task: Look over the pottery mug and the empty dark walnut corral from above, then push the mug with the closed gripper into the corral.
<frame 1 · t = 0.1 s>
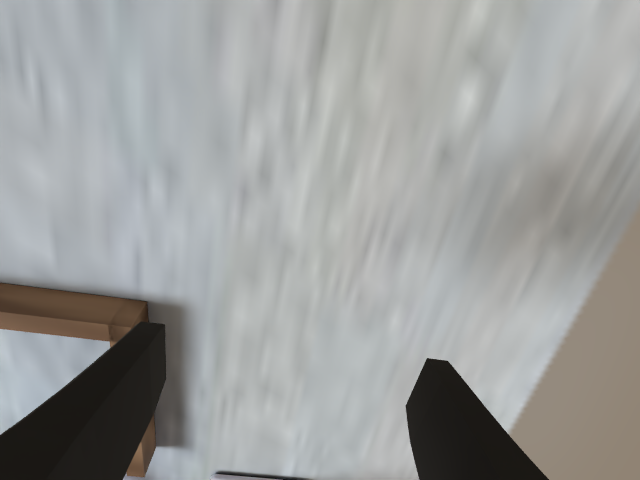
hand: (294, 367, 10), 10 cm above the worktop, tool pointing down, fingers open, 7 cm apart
corral: (17, 376, 24), on the worktop
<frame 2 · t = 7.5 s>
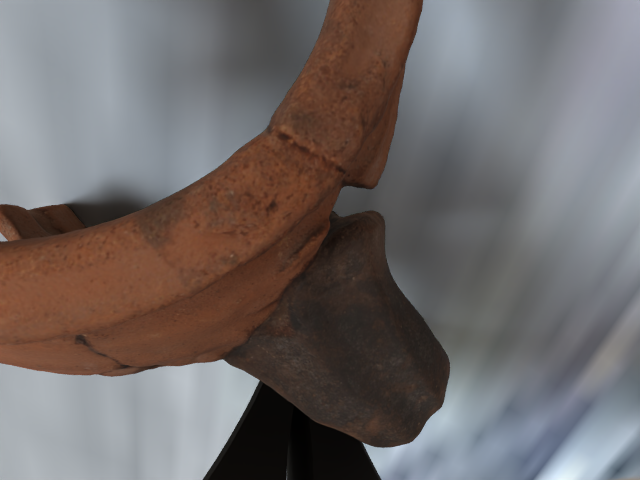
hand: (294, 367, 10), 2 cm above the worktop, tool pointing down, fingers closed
pottery mug: (223, 127, 9), on the worktop, touching gripper
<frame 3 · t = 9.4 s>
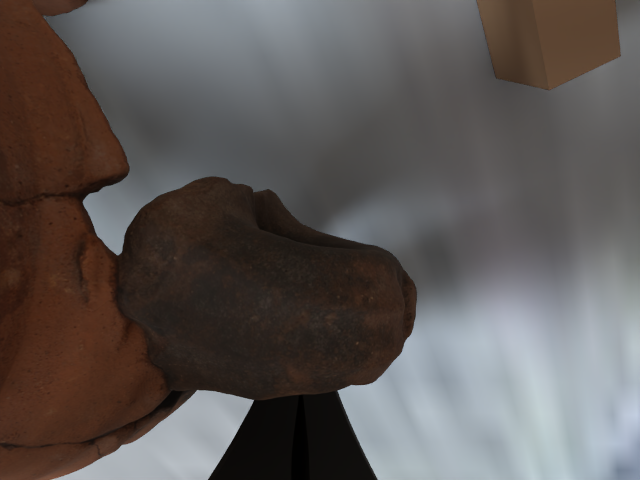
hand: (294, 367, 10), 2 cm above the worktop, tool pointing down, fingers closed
pottery mug: (153, 196, 10), on the worktop, touching gripper
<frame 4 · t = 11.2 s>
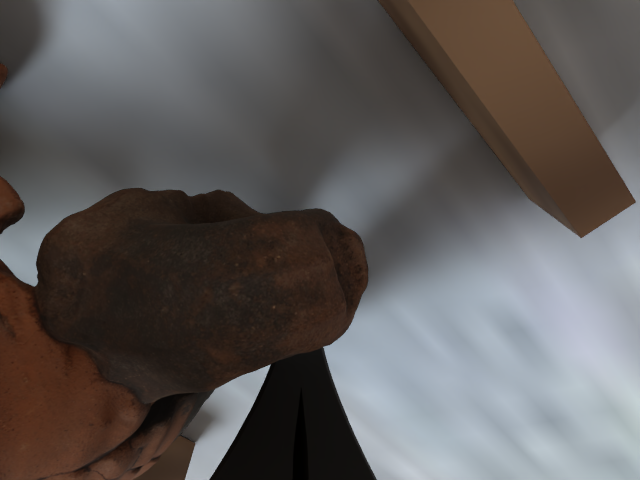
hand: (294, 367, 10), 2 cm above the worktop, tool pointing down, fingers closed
pottery mug: (137, 232, 10), on the worktop, touching gripper
corral: (165, 222, 10), on the worktop
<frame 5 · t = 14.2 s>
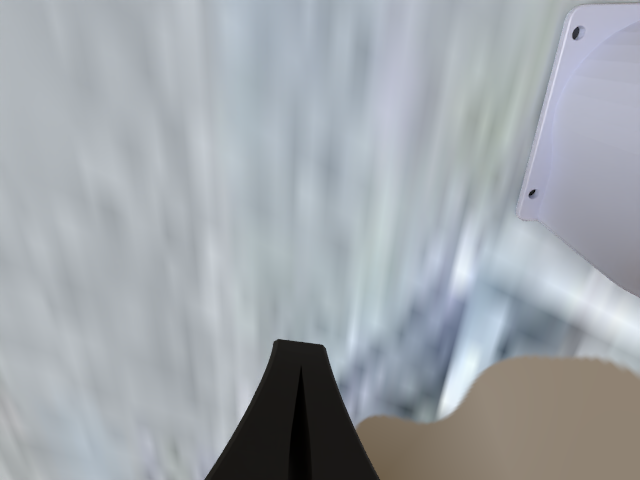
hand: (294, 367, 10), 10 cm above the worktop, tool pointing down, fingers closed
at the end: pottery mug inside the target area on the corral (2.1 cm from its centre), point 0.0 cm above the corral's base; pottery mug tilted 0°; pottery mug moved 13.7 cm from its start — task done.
